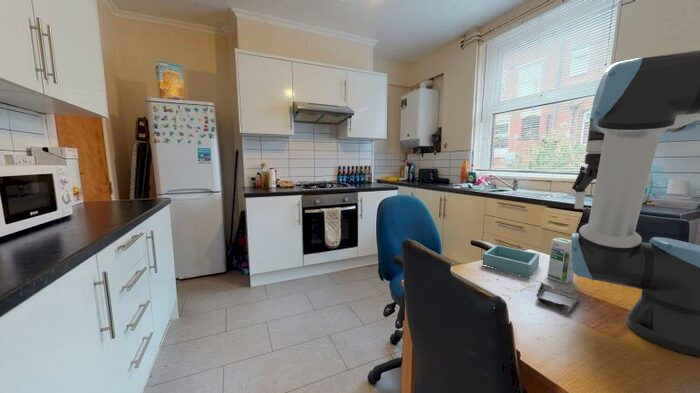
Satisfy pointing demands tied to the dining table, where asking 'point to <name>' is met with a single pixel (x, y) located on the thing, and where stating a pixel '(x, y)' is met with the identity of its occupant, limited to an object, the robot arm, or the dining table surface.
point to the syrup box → (561, 261)
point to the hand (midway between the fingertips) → (591, 211)
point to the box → (511, 260)
